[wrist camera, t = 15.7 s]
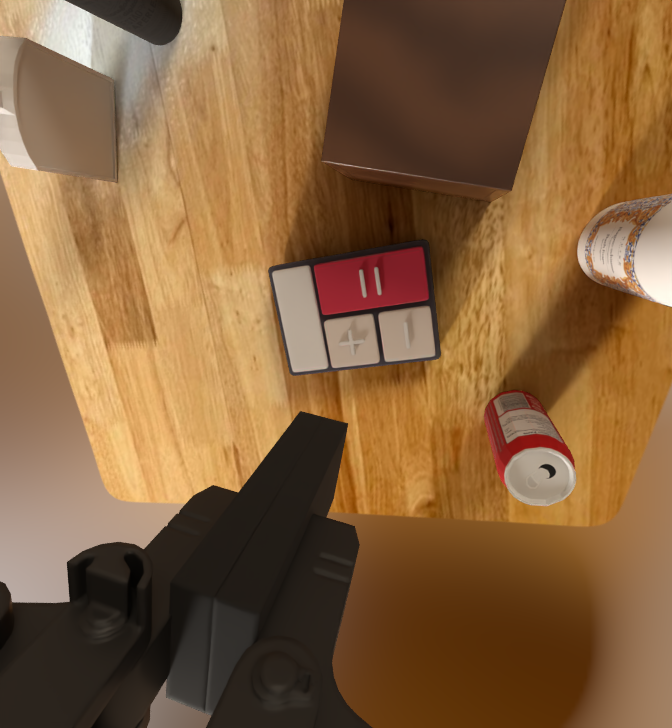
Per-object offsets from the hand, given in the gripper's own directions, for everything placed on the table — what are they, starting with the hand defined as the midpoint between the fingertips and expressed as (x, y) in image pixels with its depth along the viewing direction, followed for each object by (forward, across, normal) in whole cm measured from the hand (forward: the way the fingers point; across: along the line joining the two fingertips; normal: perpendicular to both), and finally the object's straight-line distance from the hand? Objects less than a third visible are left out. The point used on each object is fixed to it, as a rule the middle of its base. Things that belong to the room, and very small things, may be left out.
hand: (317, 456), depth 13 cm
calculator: (+31, +4, +1) cm, 31 cm away
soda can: (+31, -13, +9) cm, 34 cm away
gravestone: (+31, +33, -11) cm, 47 cm away
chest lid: (+20, 0, -19) cm, 28 cm away
